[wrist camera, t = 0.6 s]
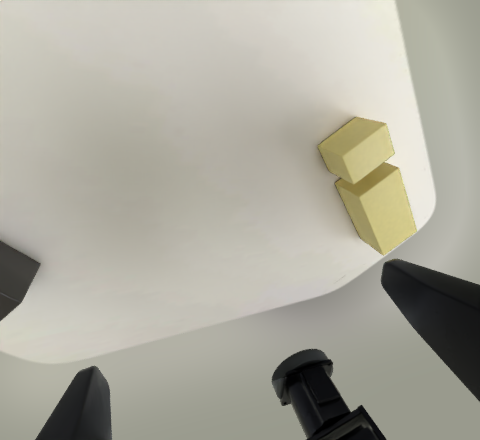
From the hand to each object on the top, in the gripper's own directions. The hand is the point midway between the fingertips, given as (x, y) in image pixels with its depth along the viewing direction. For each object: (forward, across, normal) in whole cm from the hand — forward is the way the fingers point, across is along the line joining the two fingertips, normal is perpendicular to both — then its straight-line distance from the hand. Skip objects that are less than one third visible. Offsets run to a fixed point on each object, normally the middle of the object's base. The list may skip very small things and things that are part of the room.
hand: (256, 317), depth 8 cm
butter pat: (+12, -12, 0) cm, 17 cm away
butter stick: (+12, -14, +6) cm, 19 cm away
